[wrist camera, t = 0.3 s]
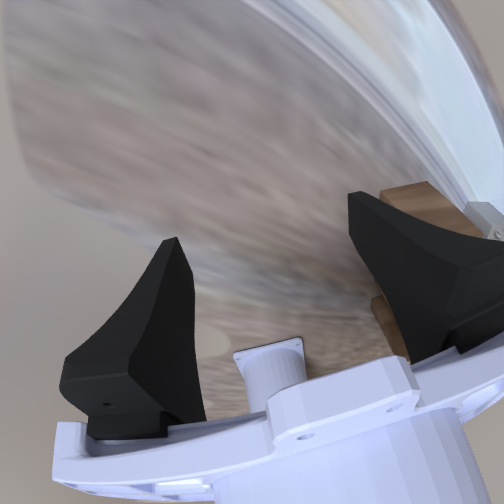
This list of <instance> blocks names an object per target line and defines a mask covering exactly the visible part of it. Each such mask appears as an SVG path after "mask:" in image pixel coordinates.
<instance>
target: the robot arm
mask: <svg viewBox="0 0 504 504" xmlns="http://www.w3.org/2000/svg"><path fill="white" fill-rule="evenodd" d="M348 217H349V235H350V237H351V239H352V241H353V243H354V245H355V247H356V249H357V251H358V253H359V255H360V256H361V258H362V259H363V261H364V263H365V264H366V266H367V267H368V269H369V270H370V272H371V274H372V275H373V277H374V278H375V280H376V281H377V283H378V285H379V286H380V288H381V290H382V291H383V293H384V295H385V297H386V299H387V301H388V303H389V306H390V308H391V310H392V312H393V314H394V317H395V319H396V322H397V324H398V327H399V329H400V332H401V335H402V338H403V340H404V343H405V346H406V349H407V352H408V355H409V359H410V362H411V365H410V366H409V364H408V362H407V360H406V358H405V357H401V356H396V355H389V356H385V357H380V358H377V359H374V360H371V361H368V362H365V363H362V364H359V365H356V366H353V367H350V368H347V369H344V370H340V371H337V372H334V373H331V374H327V375H324V376H320V377H317V378H313V379H310V380H307V376H306V368H305V359H304V352H303V344H302V339H301V338H299V337H298V338H294V339H290V340H286V341H282V342H278V343H274V344H270V345H266V346H261V347H257V348H253V349H249V350H244V351H240V352H236V353H234V354H233V358H234V360H235V362H236V364H237V366H238V368H239V370H240V372H241V374H242V376H243V378H244V380H245V386H246V392H247V398H248V404H249V410H250V414H246V415H241V416H235V417H230V418H224V419H218V420H211V421H207V420H206V415H205V410H204V406H203V400H202V395H201V389H200V383H199V377H198V370H197V362H196V354H195V341H194V328H195V327H194V325H195V289H194V280H193V273H192V270H191V268H190V266H189V263H188V261H187V259H186V257H185V254H184V252H183V250H182V247H181V245H180V243H179V240H178V238H177V237H174V238H170V239H167V240H163V242H162V243H161V245H160V246H159V248H158V250H157V251H156V253H155V255H154V257H153V258H152V260H151V262H150V263H149V265H148V267H147V268H146V270H145V272H144V273H143V275H142V276H141V278H140V279H139V281H138V282H137V284H136V285H135V287H134V288H133V290H132V291H131V293H130V294H129V295H128V297H127V298H126V299H125V301H124V302H123V303H122V304H121V306H120V307H119V308H118V309H117V310H116V312H115V313H114V314H113V315H112V316H111V317H110V318H109V319H108V320H107V321H106V322H105V324H104V325H103V326H102V327H101V328H100V329H99V330H98V331H97V332H95V333H94V334H93V335H92V336H91V337H90V338H89V339H88V340H87V341H85V342H84V343H83V344H82V345H81V346H79V347H78V348H77V349H76V350H74V351H73V352H72V353H70V354H69V355H68V356H67V357H66V358H65V361H64V366H63V370H62V375H61V379H60V385H59V389H60V392H61V394H62V395H63V397H64V398H65V399H66V400H67V401H69V402H70V403H71V404H72V405H74V406H75V407H77V408H78V409H79V410H81V411H82V412H83V413H85V414H86V415H88V424H87V423H84V422H79V421H59V422H58V424H57V431H56V439H55V447H54V458H53V469H52V479H53V481H56V482H59V483H61V484H64V485H66V486H69V487H72V488H74V489H77V490H80V491H83V492H86V493H89V494H92V495H98V496H107V497H116V498H127V499H140V500H156V501H214V502H215V504H491V500H490V498H489V495H488V492H487V489H486V486H485V483H484V480H483V477H482V475H481V472H480V469H479V467H478V464H477V462H476V459H475V456H474V454H473V451H472V449H471V447H470V444H469V442H468V439H467V437H466V435H465V432H464V430H463V428H462V424H464V423H465V422H467V421H468V420H470V419H472V418H473V417H475V416H476V415H478V414H479V413H481V412H482V411H484V410H485V409H487V408H488V407H490V406H491V405H492V404H494V403H495V402H497V401H498V400H500V399H501V398H502V397H504V241H498V240H491V239H484V238H478V237H474V236H469V235H465V234H461V233H457V232H454V231H451V230H447V229H444V228H441V227H438V226H436V225H433V224H430V223H428V222H425V221H423V220H420V219H418V218H416V217H414V216H411V215H409V214H407V213H405V212H403V211H401V210H399V209H397V208H395V207H393V206H391V205H389V204H387V203H385V202H383V201H381V200H379V199H377V198H375V197H373V196H371V195H369V194H367V193H365V192H362V191H358V192H354V193H349V194H348Z"/></svg>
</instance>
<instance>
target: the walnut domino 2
mask: <svg viewBox="0 0 504 504" xmlns="http://www.w3.org/2000/svg"><path fill="white" fill-rule="evenodd" d="M380 200H381V201H383V202H385V203H387V204H389V205H391V206H393V207H395V208H397V209H399V210H401V211H403V212H405V213H407V214H409V215H411V216H414V217H416V218H418V219H420V220H423V221H425V222H428V223H430V224H433V225H436V226H438V227H441V228H444V229H447V230H451V231H454V232H457V233H461V234H465V235H469V236H474V237H478V238H482V235H483V232H482V231H481V230H480V229H479V228H478V227H477V226H476V225H475V224H474V223H473V222H472V221H470V220H469V219H468V218H467V217H466V216H465V215H464V214H463V213H462V212H461V211H460V210H459V209H458V208H457V207H456V206H455V205H453V204H452V203H451V202H450V201H449V200H448V199H447V198H446V197H445V196H443V195H442V194H441V193H440V192H439V191H438V190H437V189H435V188H434V187H433V186H432V185H431V184H430V183H428V182H427V181H425V182H420V183H415V184H411V185H406V186H401V187H396V188H392V189H387V190H382V191H380Z"/></svg>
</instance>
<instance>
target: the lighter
mask: <svg viewBox="0 0 504 504" xmlns="http://www.w3.org/2000/svg"><path fill="white" fill-rule="evenodd" d="M463 214H464V215H465V216H466V217H467V218H468V219H469V220H470V221H472V222H473V223H474V224H475V225H476V226H477V227H478V228H479V229H480V230H481V231H482V232H483V236H484V237H485V238H486V239H498V240H499V241H504V215H503V214H501V213H500V212H499V211H498V210H497V209H496V208H495V207H494V206H492V205H491V204H490V203H489V202H467V204H466V207H465V210H464V213H463Z"/></svg>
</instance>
